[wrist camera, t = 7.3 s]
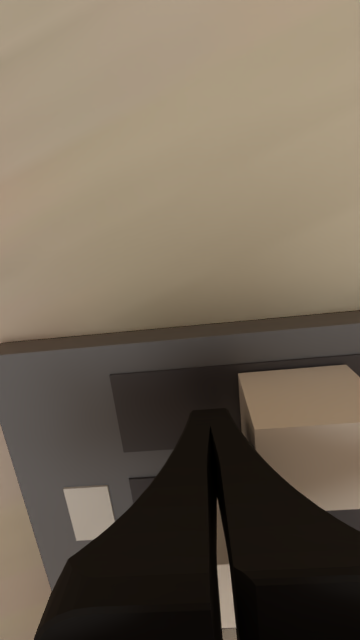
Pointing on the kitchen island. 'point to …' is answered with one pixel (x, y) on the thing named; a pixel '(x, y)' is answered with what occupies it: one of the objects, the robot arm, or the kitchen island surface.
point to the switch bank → (135, 410)
